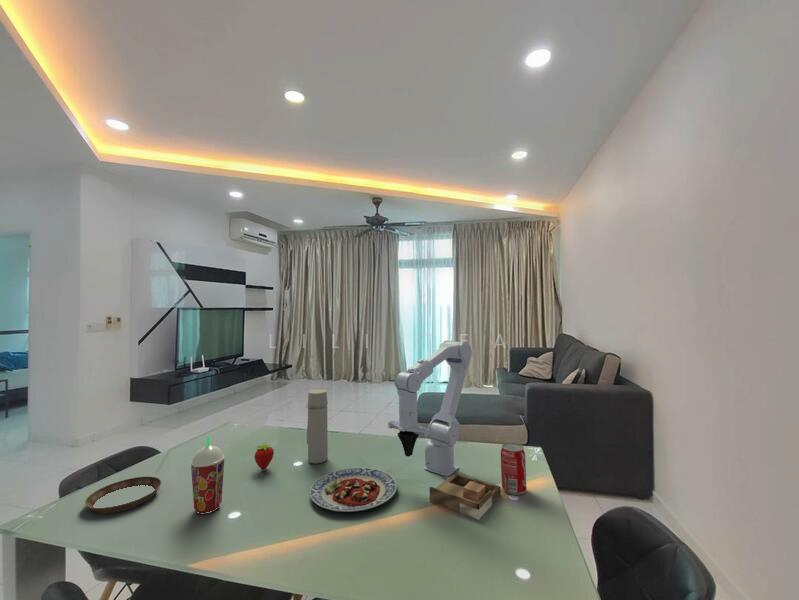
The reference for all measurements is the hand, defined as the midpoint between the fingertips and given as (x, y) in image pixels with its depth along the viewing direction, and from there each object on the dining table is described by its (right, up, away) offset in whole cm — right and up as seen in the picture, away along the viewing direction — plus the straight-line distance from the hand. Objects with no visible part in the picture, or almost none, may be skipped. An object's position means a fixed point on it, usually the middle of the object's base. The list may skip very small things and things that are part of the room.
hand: (408, 455), depth 111 cm
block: (+18, -6, -12) cm, 23 cm away
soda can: (+31, -9, -4) cm, 33 cm away
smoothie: (-56, -10, -12) cm, 58 cm away
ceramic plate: (-17, -10, -4) cm, 20 cm away
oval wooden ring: (-83, -11, -6) cm, 84 cm away
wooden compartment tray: (+16, -9, -8) cm, 20 cm away
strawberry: (-49, -11, +12) cm, 52 cm away
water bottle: (-33, -11, +20) cm, 40 cm away
